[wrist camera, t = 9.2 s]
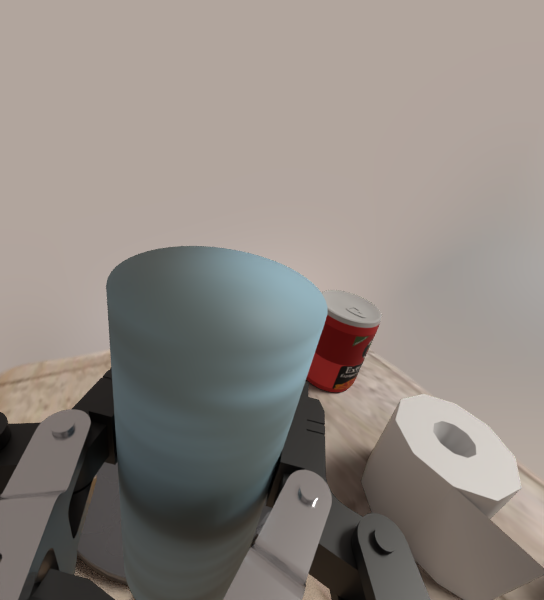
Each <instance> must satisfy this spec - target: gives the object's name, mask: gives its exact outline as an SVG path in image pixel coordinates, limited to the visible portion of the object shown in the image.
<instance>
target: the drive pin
mask: <svg viewBox="0 0 544 600" xmlns="http://www.w3.org/2000/svg"><path fill="white" fill-rule="evenodd" d="M106 289H107V305H108V320H109V335H110V336H109V337H110V352H111V368H112V384H113V399H114V415H115V431H116V447H117V462H118V478H119V494H120V509H121V525H122V541H123V556H124V569H125V576H126V580H127V583H128V586H129V588H130V591H131V593H132V594H133V596H134V598H135V599H136V600H223V599H224V597H225V595H226V593H227V591H228V589H229V587H230V585H231V583H232V581H233V579H234V577H235V576H236V574H237V572H238V570H239V568H240V566H241V564H242V562H243V560H244V558H245V556H246V555H247V553H248V551H249V549H250V546H251V543H252V540H253V537H254V534H255V531H256V528H257V525H258V522H259V519H260V516H261V513H262V510H263V507H264V504H265V501H266V498H267V494H268V491H269V488H270V485H271V482H272V479H273V476H274V473H275V470H276V467H277V464H278V461H279V458H280V455H281V452H282V449H283V447H284V444H285V441H286V438H287V435H288V432H289V429H290V426H291V423H292V420H293V417H294V414H295V411H296V408H297V405H298V402H299V399H300V396H301V393H302V390H303V387H304V384H305V381H306V378H307V375H308V372H309V369H310V366H311V363H312V360H313V357H314V354H315V351H316V348H317V345H318V342H319V339H320V336H321V333H322V330H323V327H324V324H325V321H326V317H327V314H328V312H327V304H326V300H325V298H324V296H323V295H322V293H321V292H320V291H319V289H318V288H317V287H316V286H315V285H314V284H313V283H312V282H311V281H309V280H308V279H307V278H305V277H304V276H303V275H301V274H300V273H298V272H296V271H294V270H293V269H291V268H289V267H287V266H285V265H282V264H280V263H278V262H275V261H273V260H270V259H267V258H264V257H261V256H258V255H254V254H250V253H246V252H242V251H236V250H231V249H225V248H216V247H204V246H180V247H168V248H162V249H156V250H151V251H147V252H144V253H141V254H138V255H135V256H133V257H130V258H129V259H127V260H125V261H123V262H122V263H120V264H119V265H118V266H116V267H115V269H114V270H113V271H112V272H111V274H110V275H109V277H108V280H107V285H106Z"/></svg>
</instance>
